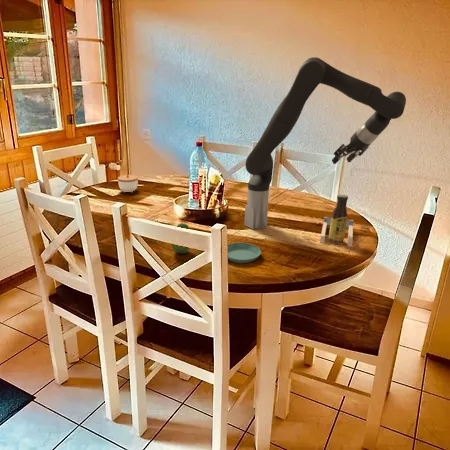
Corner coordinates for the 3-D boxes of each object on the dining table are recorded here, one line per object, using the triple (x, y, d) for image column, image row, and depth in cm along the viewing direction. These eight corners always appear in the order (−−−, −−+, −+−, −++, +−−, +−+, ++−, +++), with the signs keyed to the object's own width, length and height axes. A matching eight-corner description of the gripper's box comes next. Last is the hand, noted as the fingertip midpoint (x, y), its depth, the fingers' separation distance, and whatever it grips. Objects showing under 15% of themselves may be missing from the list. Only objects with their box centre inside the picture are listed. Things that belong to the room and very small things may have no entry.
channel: (351, 246, 168) (353, 235, 166) (320, 242, 171) (321, 231, 169) (352, 230, 184) (353, 219, 182) (323, 227, 187) (324, 216, 185)
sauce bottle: (335, 246, 168) (341, 199, 161) (324, 240, 173) (330, 194, 166) (347, 243, 171) (353, 197, 164) (336, 237, 176) (342, 192, 169)
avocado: (193, 256, 157) (193, 226, 152) (172, 257, 155) (171, 227, 151) (190, 247, 164) (190, 218, 160) (170, 248, 162) (169, 220, 158)
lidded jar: (122, 187, 236) (121, 171, 233) (141, 188, 235) (140, 172, 232) (115, 193, 226) (114, 176, 223) (134, 194, 225) (133, 177, 222)
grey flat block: (349, 228, 186) (349, 227, 186) (326, 225, 189) (326, 224, 189) (349, 220, 195) (349, 220, 195) (327, 218, 198) (327, 217, 198)
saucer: (221, 265, 151) (221, 258, 150) (221, 248, 165) (221, 242, 164) (262, 266, 151) (262, 259, 150) (258, 249, 165) (259, 242, 164)
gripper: (357, 144, 157) (332, 170, 169) (382, 142, 164) (357, 167, 176) (347, 129, 159) (324, 155, 172) (373, 127, 166) (348, 153, 179)
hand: (340, 161), depth 174 cm, fingers open, 8 cm apart
